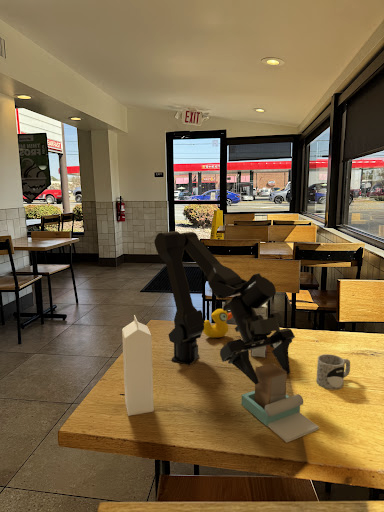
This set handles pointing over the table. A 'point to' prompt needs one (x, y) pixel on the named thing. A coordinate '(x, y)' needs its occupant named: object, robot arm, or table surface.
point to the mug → (332, 371)
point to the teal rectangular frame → (281, 416)
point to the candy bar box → (262, 350)
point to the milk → (137, 368)
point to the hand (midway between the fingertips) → (273, 378)
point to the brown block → (270, 384)
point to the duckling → (217, 324)
